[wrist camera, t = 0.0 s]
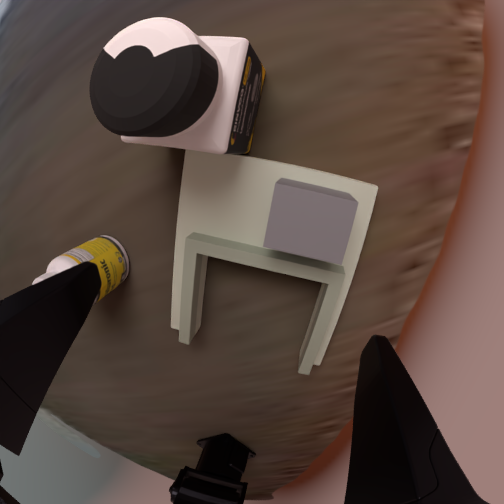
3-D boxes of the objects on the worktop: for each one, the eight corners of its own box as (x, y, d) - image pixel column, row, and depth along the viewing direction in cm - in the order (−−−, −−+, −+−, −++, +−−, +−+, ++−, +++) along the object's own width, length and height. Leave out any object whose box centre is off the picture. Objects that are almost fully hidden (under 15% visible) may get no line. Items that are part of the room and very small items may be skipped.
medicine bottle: (250, 154, 22) (189, 158, 11) (167, 142, 22) (64, 145, 11) (266, 69, 19) (224, -3, 8) (183, 63, 20) (91, 15, 9)
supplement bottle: (128, 290, 28) (70, 341, 19) (90, 271, 29) (29, 312, 20) (134, 244, 26) (66, 287, 17) (93, 226, 27) (23, 259, 18)
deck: (319, 355, 27) (319, 396, 21) (177, 319, 28) (152, 351, 23) (373, 184, 21) (393, 194, 15) (193, 147, 22) (161, 148, 17)
